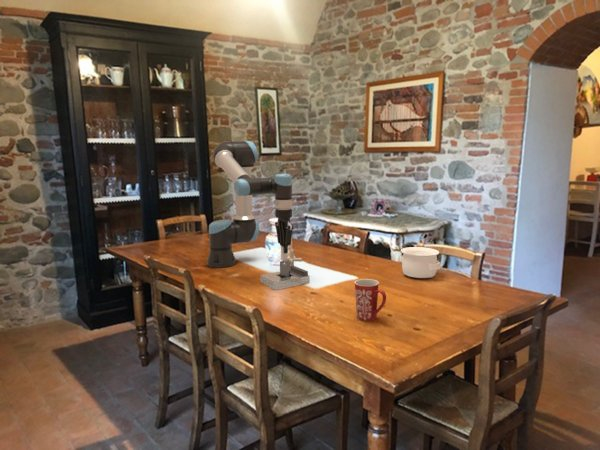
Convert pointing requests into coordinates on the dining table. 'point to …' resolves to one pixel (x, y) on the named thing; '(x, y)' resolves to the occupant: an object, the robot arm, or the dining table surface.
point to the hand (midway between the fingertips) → (284, 259)
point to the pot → (419, 262)
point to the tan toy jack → (293, 258)
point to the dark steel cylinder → (285, 269)
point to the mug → (367, 299)
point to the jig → (286, 278)
